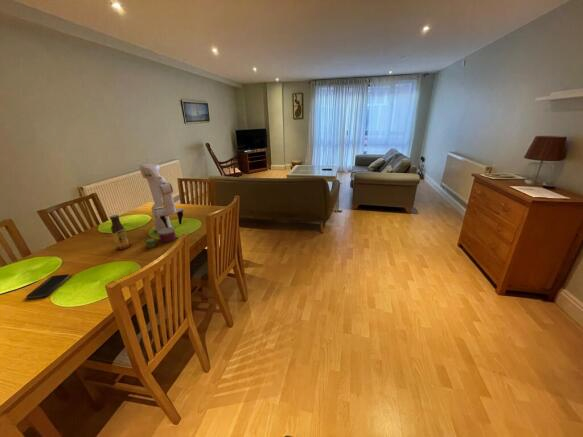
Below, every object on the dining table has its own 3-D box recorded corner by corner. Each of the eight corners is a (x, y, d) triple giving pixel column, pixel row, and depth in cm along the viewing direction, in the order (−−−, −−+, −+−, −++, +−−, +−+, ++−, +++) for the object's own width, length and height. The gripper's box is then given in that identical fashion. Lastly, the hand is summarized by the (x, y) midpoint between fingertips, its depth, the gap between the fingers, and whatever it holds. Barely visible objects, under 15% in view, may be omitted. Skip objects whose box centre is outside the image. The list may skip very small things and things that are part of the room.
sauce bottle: (123, 250, 137) (112, 218, 129) (114, 249, 138) (103, 218, 130) (132, 245, 143) (123, 214, 135) (123, 244, 144) (113, 213, 136)
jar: (156, 241, 146) (153, 232, 144) (167, 234, 155) (165, 226, 153) (168, 243, 144) (166, 234, 141) (180, 236, 152) (178, 227, 150)
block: (147, 248, 139) (145, 242, 137) (149, 244, 143) (147, 238, 141) (154, 247, 140) (153, 241, 138) (156, 244, 143) (155, 238, 142)
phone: (24, 297, 100) (51, 275, 113) (25, 299, 100) (52, 277, 114) (45, 295, 101) (70, 274, 114) (46, 297, 101) (71, 276, 115)
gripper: (156, 209, 132) (162, 231, 137) (183, 203, 140) (188, 224, 145) (153, 205, 137) (159, 227, 142) (180, 200, 145) (184, 220, 150)
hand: (173, 225), depth 144 cm, fingers open, 7 cm apart
